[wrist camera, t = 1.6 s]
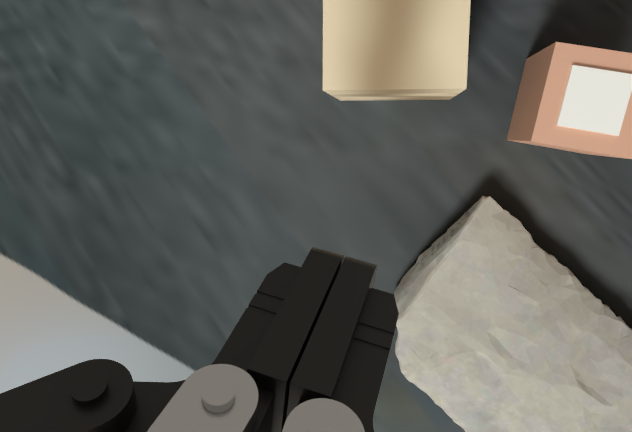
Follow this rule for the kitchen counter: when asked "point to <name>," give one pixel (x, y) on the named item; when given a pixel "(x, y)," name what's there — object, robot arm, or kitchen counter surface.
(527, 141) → the terracotta label block
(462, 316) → the stone tool
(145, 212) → the kitchen counter surface
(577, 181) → the kitchen counter surface
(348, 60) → the plain block
